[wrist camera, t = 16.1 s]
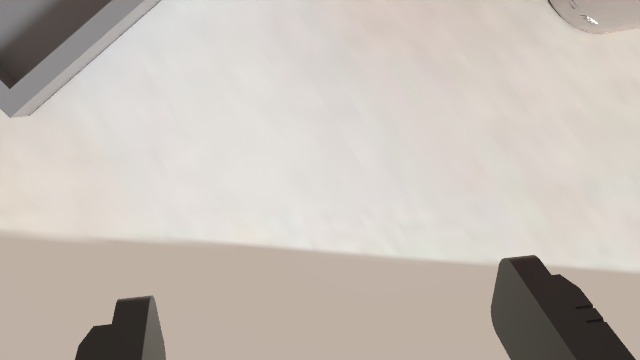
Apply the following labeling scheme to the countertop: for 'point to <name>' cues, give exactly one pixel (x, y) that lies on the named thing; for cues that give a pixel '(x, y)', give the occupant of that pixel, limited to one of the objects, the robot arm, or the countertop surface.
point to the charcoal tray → (55, 44)
